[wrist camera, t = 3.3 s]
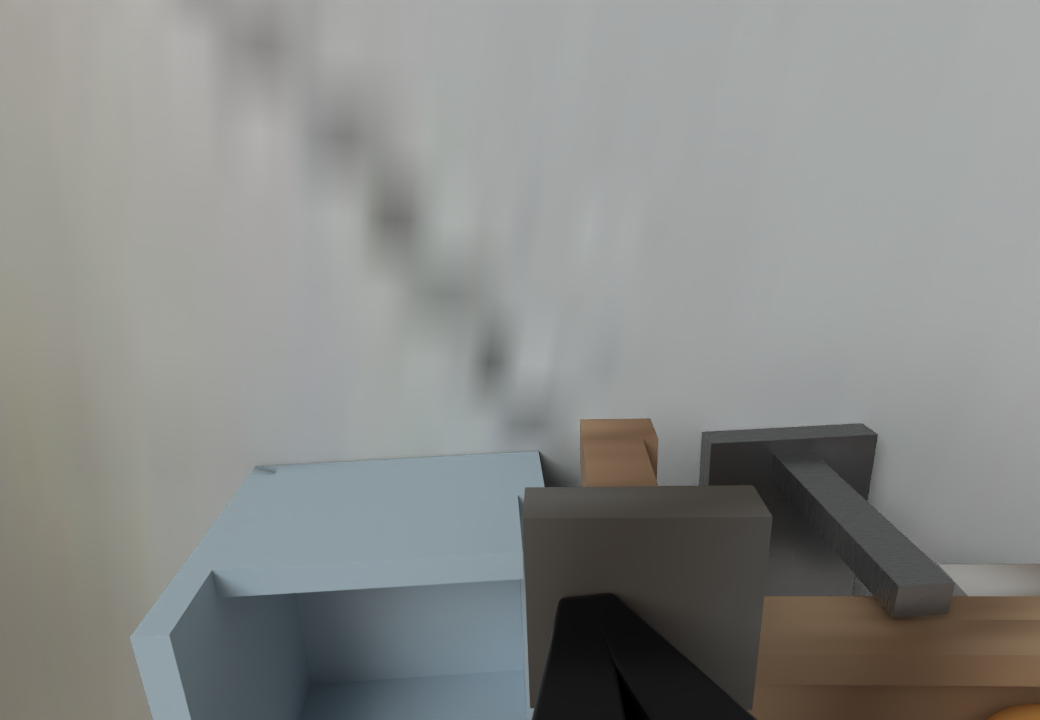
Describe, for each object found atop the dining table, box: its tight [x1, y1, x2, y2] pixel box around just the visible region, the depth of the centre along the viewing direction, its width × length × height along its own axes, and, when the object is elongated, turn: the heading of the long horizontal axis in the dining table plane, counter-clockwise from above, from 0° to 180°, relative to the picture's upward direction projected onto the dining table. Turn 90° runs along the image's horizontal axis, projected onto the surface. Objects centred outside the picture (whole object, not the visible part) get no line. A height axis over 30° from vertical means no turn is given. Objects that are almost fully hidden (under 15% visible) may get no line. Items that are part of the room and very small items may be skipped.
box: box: [130, 451, 545, 720], centre depth 17 cm, size 8×8×7 cm
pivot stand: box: [699, 424, 955, 618], centre depth 18 cm, size 5×9×7 cm, turn 2°
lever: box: [523, 419, 1040, 720], centre depth 13 cm, size 15×11×7 cm
